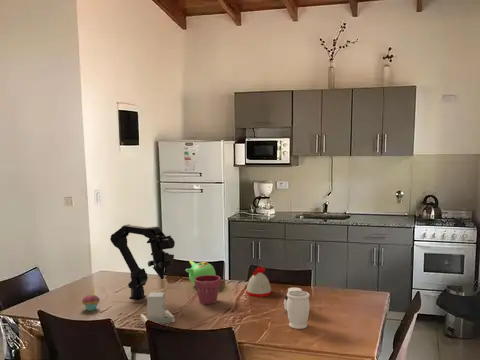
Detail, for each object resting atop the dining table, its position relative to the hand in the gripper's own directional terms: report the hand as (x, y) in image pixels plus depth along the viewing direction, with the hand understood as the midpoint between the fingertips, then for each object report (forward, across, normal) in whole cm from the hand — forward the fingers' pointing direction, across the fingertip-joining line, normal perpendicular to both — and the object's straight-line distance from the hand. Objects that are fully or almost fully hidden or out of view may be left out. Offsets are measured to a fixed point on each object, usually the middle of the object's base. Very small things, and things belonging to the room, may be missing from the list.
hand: (162, 279), depth 248 cm
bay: (+15, -22, +15) cm, 30 cm away
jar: (+27, -64, -35) cm, 78 cm away
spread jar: (+26, -48, -46) cm, 72 cm away
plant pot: (+17, -11, -19) cm, 27 cm away
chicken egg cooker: (+20, -15, -50) cm, 55 cm away
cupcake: (+7, +12, +36) cm, 39 cm away
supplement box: (+15, -21, +15) cm, 30 cm away
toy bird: (+13, +16, -30) cm, 37 cm away
